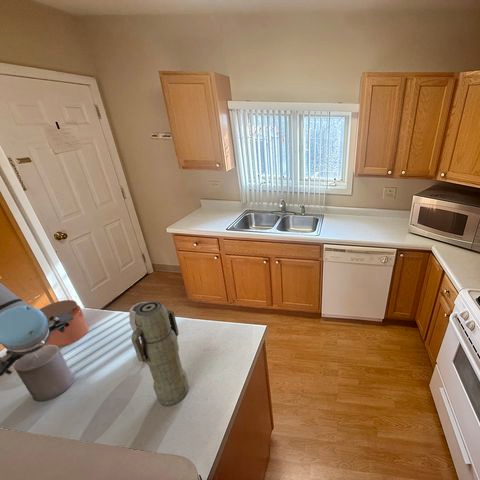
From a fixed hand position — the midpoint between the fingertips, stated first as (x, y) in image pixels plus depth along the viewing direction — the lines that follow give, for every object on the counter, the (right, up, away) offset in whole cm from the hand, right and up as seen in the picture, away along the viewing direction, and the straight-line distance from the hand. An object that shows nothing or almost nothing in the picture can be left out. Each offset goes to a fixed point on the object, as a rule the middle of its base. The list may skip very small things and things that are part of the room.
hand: (34, 348), depth 75 cm
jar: (-17, -6, +27) cm, 33 cm away
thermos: (+38, -18, +7) cm, 42 cm away
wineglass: (+21, -10, +22) cm, 32 cm away
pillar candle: (-2, -16, +7) cm, 18 cm away
